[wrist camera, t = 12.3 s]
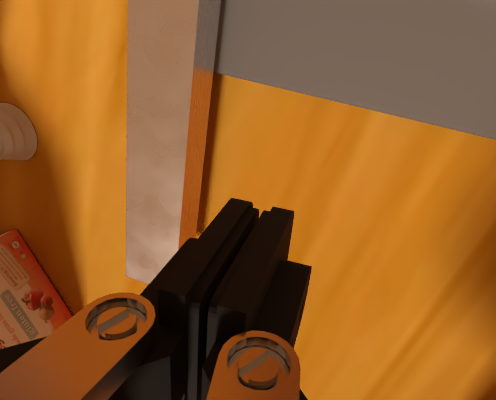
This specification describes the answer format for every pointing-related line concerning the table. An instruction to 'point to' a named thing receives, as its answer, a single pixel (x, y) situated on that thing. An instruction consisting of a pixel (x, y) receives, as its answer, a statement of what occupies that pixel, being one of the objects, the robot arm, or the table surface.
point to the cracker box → (26, 295)
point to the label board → (371, 55)
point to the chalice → (16, 134)
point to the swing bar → (166, 126)
